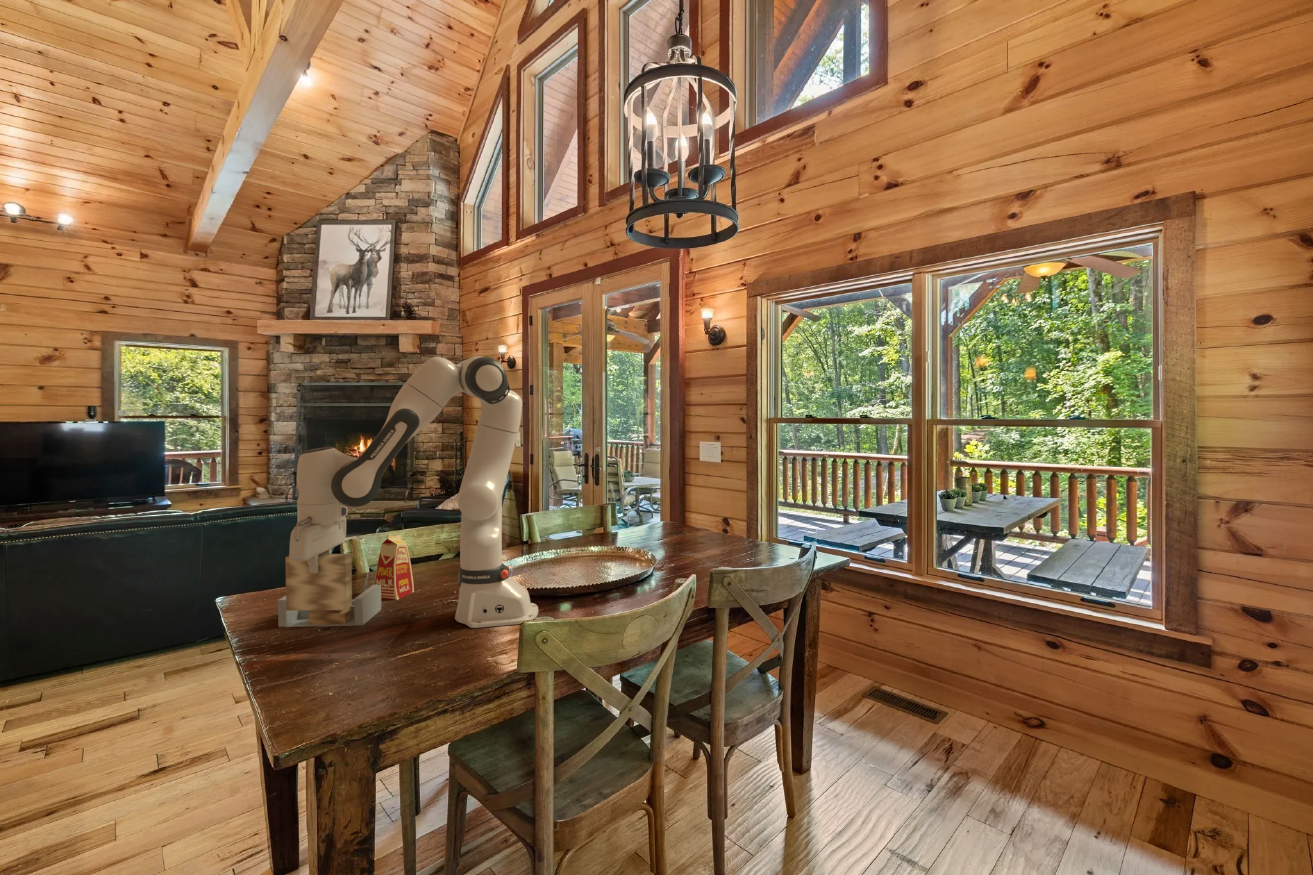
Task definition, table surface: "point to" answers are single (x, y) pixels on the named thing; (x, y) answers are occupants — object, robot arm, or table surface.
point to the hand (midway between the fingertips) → (319, 570)
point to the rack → (360, 609)
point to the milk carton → (394, 569)
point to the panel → (319, 583)
